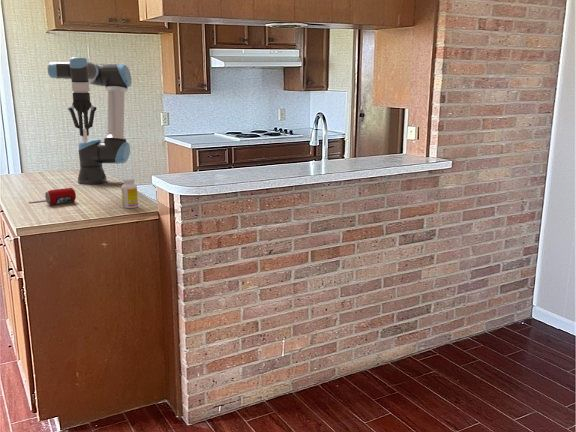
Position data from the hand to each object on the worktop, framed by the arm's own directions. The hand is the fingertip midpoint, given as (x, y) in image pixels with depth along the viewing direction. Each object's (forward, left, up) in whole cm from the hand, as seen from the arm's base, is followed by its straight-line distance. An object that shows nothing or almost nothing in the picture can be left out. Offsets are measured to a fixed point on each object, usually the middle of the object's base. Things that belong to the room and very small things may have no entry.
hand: (85, 142), depth 262 cm
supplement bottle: (-8, +32, -27) cm, 42 cm away
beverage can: (+9, +7, -23) cm, 25 cm away
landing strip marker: (+18, -2, -26) cm, 32 cm away
